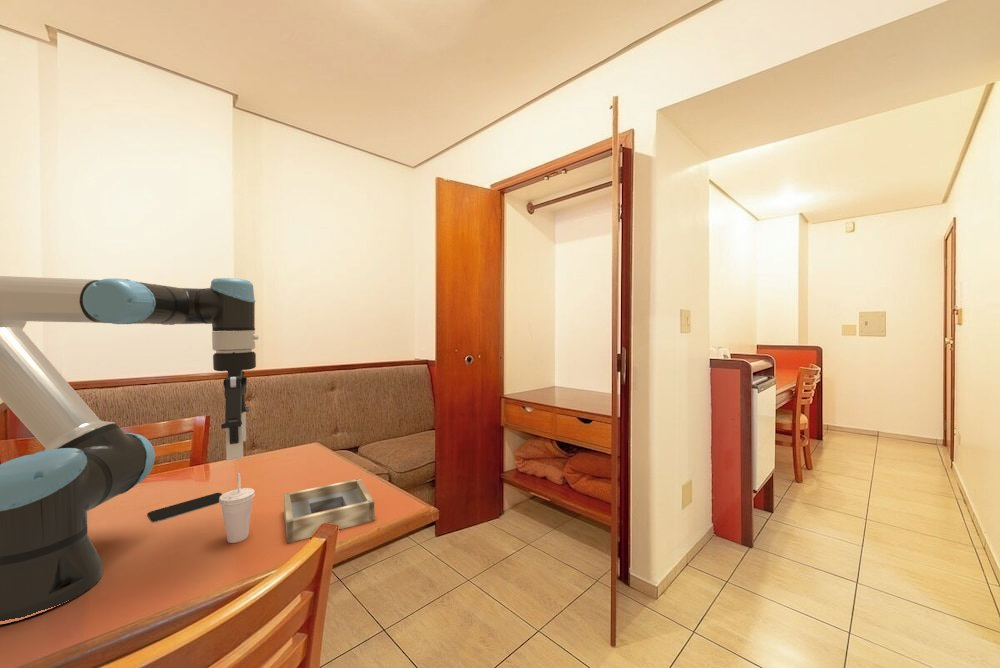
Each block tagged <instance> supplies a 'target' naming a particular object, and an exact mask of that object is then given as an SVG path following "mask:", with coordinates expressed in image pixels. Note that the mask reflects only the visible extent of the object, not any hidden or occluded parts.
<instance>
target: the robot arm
mask: <svg viewBox="0 0 1000 668" xmlns="http://www.w3.org/2000/svg"><path fill="white" fill-rule="evenodd" d="M255 310H256V299H255V291H254V285H253V283H252V282H251V281H250V280H247V279H243V278H234V277H233V278H230V277H220V278H219V277H216V278H213V279H212V280H211V282H210V287H206V288H191V287H189V288H188V287H184V288H183V287H176V286H175V287H174V286H169V285H168V286H167V285H162V284H155V283H146V282H143V281H142V282H140V281H135V280H133V279H127V278H103V279H91V278H90V279H87V278H85V279H84V278H61V277H60V278H58V277H37V276H36V277H33V276H8V275H7V276H6V275H0V400H2V402H3V403H4V404H5V405H6V406H7V408H9V410H10V411H12V413H13V414H14V415H15V416H16V417H17V418H18V419H19V421H20V422H21V423H22V424H23V425H24V426H25V427H26V429H28V430H29V432H31V434H32V435H33V436H34V437H35V439H37V441H39V443H40V444H41V446H43V447H44V450H42V451H38V452H36V453H33V454H25V455H22V456H18V457H15V458H13V459H10V460H7V461H5V462H3V463H0V621H5V620H9V619H15V618H21V617H25V616H27V615H31V614H33V613H36V612H38V611H41V610H45V609H48V608H51V607H54V606H57V605H59V604H62V603H64V602H66V601H68V600H70V601H72V600H74V599H76V598H78V597H79V596H81V595H82V594H84V593H85V592H87V591H89V590H90V589H91V588H93V587H94V586H95V585H96V584H97V583H98V582H99V581H100V579H101V578H102V576H103V574H104V573H103V571H104V570H103V561H102V558H101V556H100V555H99V553H98V551H97V549H96V547H95V546H94V543H93V542H92V540H91V539H90V537H89V534H88V533H89V531H88V512H89V511H91V510H92V509H94V508H97V507H99V506H100V505H102V504H104V503H106V502H108V501H109V500H111V499H113V498H115V497H117V496H119V495H123V494H125V493H127V492H129V491H130V490H132V489H133V488H134V487H135V486H137V485H138V484H140V483H141V482H143V481H144V480H145V479H146V478H147V477H148V476H149V475H150V473H151V472H152V470H153V467H154V463H155V460H156V452H155V449H154V446H153V444H152V443H151V442H150V440H149V439H148V438H146V437H145V436H144V435H141V434H139V433H138V434H137V433H131V432H125V431H123V429H121V427H120V426H119V425H118V424H117V423H116V422H114V421H104V420H101V418H99V416H98V415H96V413H95V412H94V411H93V410H92V409H91V408H90V406H88V404H87V403H86V402H85V400H83V398H82V397H81V396H80V395H79V393H78V392H76V390H75V389H74V388H73V387H72V386H71V385H70V383H69V382H68V381H67V380H66V379H65V378H64V377H63V375H62V374H61V373H60V372H59V371H58V369H57V368H56V367H55V366H54V365H53V364H52V362H51V361H50V360H49V359H48V357H47V356H45V354H44V353H43V352H42V351H41V349H39V347H38V346H37V345H36V344H35V343H34V342H33V341H32V339H31V338H30V337H29V336H28V335H27V334H26V332H25V331H24V328H25V327H26V324H27V323H28V322H45V323H46V322H47V323H51V322H52V323H93V324H97V323H99V324H101V323H102V324H113V325H137V324H138V325H140V324H141V325H142V324H143V325H144V324H148V325H164V326H166V325H170V326H173V325H200V324H201V325H202V324H205V325H210V324H211V325H212V326H211V327H212V328H211V329H212V331H211V342H212V343H211V344H212V350H213V351H215V353H214V354H213V355H212V365H213V366H212V367H213V370H214V371H216V372H227V377H225V378H224V380H223V388H224V393H223V394H224V399H225V414H224V415H225V417H224V421H225V422H223V423H221V424H220V427H221V429H225V448H226V449H225V452H226V453H225V454H226V455H225V456H226V461H227V462H228V461H232V460H233V461H234V460H239V459H243V458H244V442H247V415H246V414H247V413H248V412H249V411H250V407H249V406H247V404H246V395H245V394H246V392H247V385H248V384H247V383H248V378H247V376H245V371H247V370H248V371H249V370H253V369H255V368H256V367H257V359H256V357H257V353H256V352H255V351H253V350H255V348H256V341H255V340H257V341H258V340H259V338H260V337H259V335H255V333H256V332H255V331H256V328H255V327H256V325H255V324H256V323H255V320H256V319H255V315H256V314H255V313H256V312H255ZM77 596H78V597H77ZM73 598H74V599H73ZM71 599H72V600H71ZM68 602H69V601H68ZM64 604H65V603H64ZM62 605H63V604H62Z"/></svg>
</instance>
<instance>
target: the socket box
mask: <svg viewBox="0 0 1000 668" xmlns="http://www.w3.org/2000/svg"><path fill="white" fill-rule="evenodd" d="M283 504H284V505H283V507H284V508H283V509H284V510H283V511H284V512H283V513H284V522H285V535H286V544H291V543H294V542H297V541H298V542H299V541H302V540H306V539H310V538H313V537H312V535H313V534H314V532H315V531H316V530H317V528H318V527H319V526H320V525H321V524H323V523H332V524H337V525H339V528H340V530H343V529H347V528H351V527H355V526H359V525H362V524H363V525H364V524H366V523H370V522H373V521H375V501H374V499H373V497H372V496H371V494H370V492H369V491H368V489H367V487H366V486H365V484H364V483H363V481H362V479H361V478H355V479H350V480H346V481H342V482H337V483H331V484H326V485H322V486H317V487H312V488H307V489H302V490H297V491H291V492H287V493H284V494H283Z"/></svg>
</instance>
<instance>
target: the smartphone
mask: <svg viewBox="0 0 1000 668" xmlns="http://www.w3.org/2000/svg"><path fill="white" fill-rule="evenodd" d="M221 495H223V493H221V492H214V493H212V494H208V495H204V496H200V497H197V498H194V499H190V500H187V501H183V502H179V503H176V504H172V505H169V506H165V507H162V508H158V509H155V510H152V511H149V512H147V514H146V515H147V517H148V519H149V521H150V522H151V523H159V522H162V521H165V520H169V519H172V518H175V517H178V516H182V515H185V514H188V513H191V512H194V511H197V510H201V509H205V508H209V507H211V506H215V505H218V504H219V497H220V496H221Z"/></svg>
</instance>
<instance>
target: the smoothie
mask: <svg viewBox="0 0 1000 668" xmlns="http://www.w3.org/2000/svg"><path fill="white" fill-rule="evenodd" d="M236 474H237V475H236V476H237V477H236V478H237V488H235V489H231V490H229V491H226V492H224V493H222V495H221V496H220V497H219V503H218V504H219V505H220V506H221V513H222V518H223V522H224V528H225V535H226V540H227V542H228V543H229V544H230V543H231V544H235V543H240V542H242V541H245V540H246V539H248V537H249V532H250V523H251V516H252V507H253V499H254V497H255V495H256V494H255V489H253V488H250V487H243V488H242V487H241V483H242V482H241V481H242V480H241V472H238V473H236Z"/></svg>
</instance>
